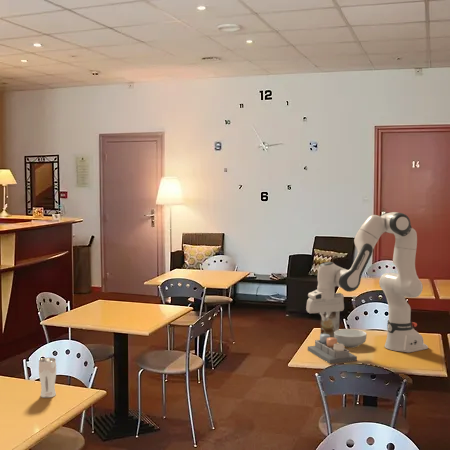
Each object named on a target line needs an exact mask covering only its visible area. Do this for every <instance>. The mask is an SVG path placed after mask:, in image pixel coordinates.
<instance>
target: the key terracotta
mask: <svg viewBox="0 0 450 450" xmlns="http://www.w3.org/2000/svg"><path fill="white" fill-rule="evenodd" d="M336 343H338V342H337V338H333V337H329V338H327V347H329V348H333V347H334V344H336Z"/></svg>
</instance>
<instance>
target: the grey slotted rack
mask: <svg viewBox="0 0 450 450" xmlns="http://www.w3.org/2000/svg"><path fill="white" fill-rule="evenodd" d="M307 351H308V352H310V353H311V354H313V355H314V356H316V357H318V358H319V359H320V360H323V361H324V360H325V361H324V362H326V361H327V362H326V363H327V364H329V363H333V364H340V363H341V364H342V363H346V362H357V360H358V356H357V355H355V354H353V353H351V352H350V350H349V349H348V348H346V347H344V351H341V352H336V351H334V347H333V348H329V347H327V344H322V343H320V339H317V340H315V339H314V345H309V346H307Z"/></svg>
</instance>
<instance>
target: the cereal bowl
mask: <svg viewBox="0 0 450 450" xmlns="http://www.w3.org/2000/svg"><path fill="white" fill-rule="evenodd" d="M334 337H335V338H337V343H340V344H344V348H353V349H354V348H357V347H359V346H361V345H363V344H365V342H366V341H367V332H366V331H364V330H362V329H356V328H339V330H336V331H335V332H334Z"/></svg>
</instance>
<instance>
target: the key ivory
mask: <svg viewBox="0 0 450 450" xmlns="http://www.w3.org/2000/svg"><path fill="white" fill-rule="evenodd" d="M344 348H345V346H344V344H340V343H338V342H337V343H336V344H334V351H336V352H341V351H344Z"/></svg>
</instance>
